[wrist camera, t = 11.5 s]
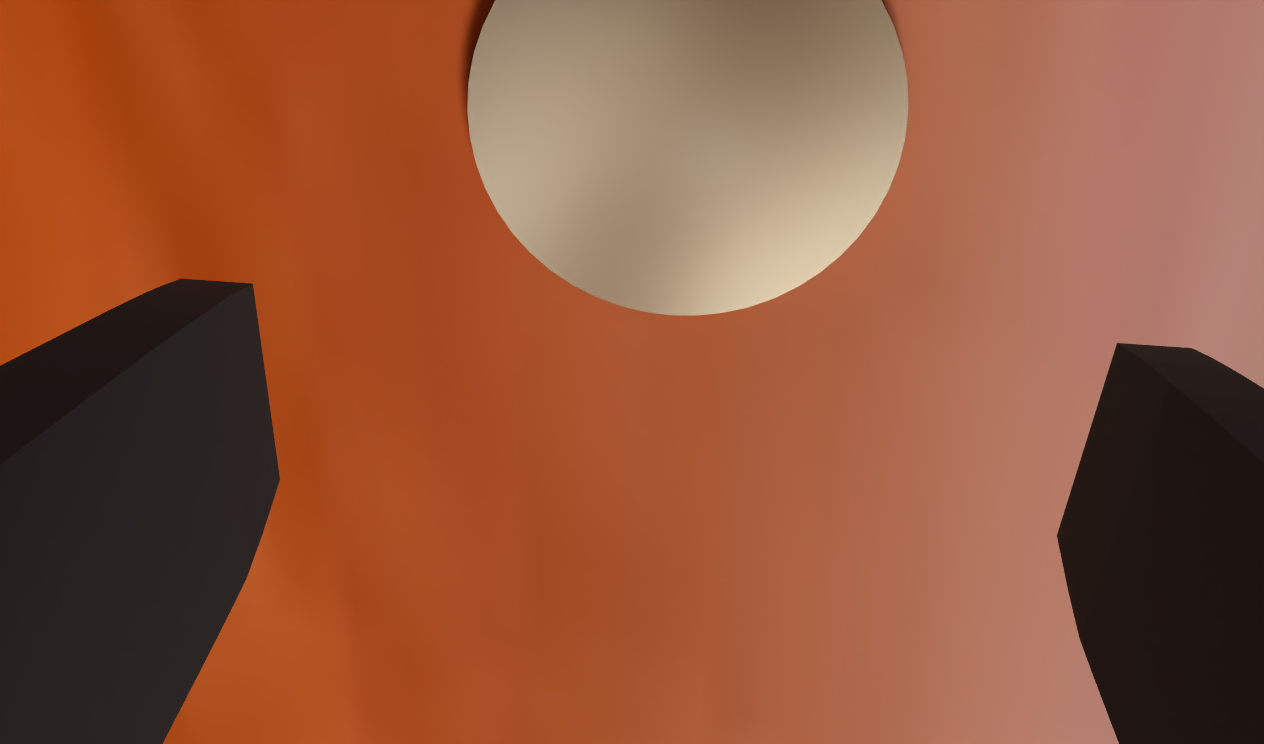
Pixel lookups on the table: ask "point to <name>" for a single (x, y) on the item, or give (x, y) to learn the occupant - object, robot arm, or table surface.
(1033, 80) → the table surface
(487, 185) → the coaster
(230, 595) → the robot arm
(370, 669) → the table surface
